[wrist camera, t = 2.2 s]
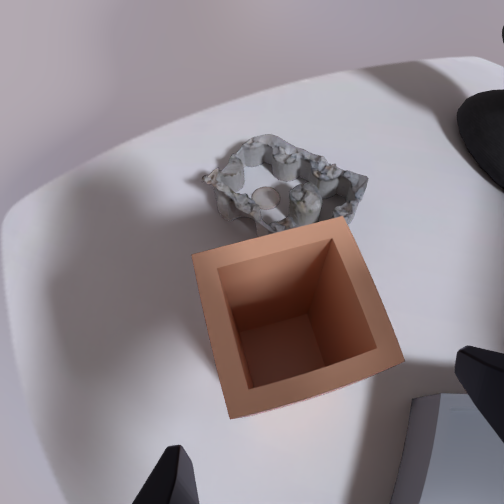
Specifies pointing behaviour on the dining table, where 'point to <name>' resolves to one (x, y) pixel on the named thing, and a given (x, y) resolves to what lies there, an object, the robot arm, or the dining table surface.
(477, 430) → the grey square tray
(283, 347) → the orange square container
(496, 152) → the candelabra
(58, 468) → the dining table surface
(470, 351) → the robot arm
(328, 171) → the grey jagged ring
